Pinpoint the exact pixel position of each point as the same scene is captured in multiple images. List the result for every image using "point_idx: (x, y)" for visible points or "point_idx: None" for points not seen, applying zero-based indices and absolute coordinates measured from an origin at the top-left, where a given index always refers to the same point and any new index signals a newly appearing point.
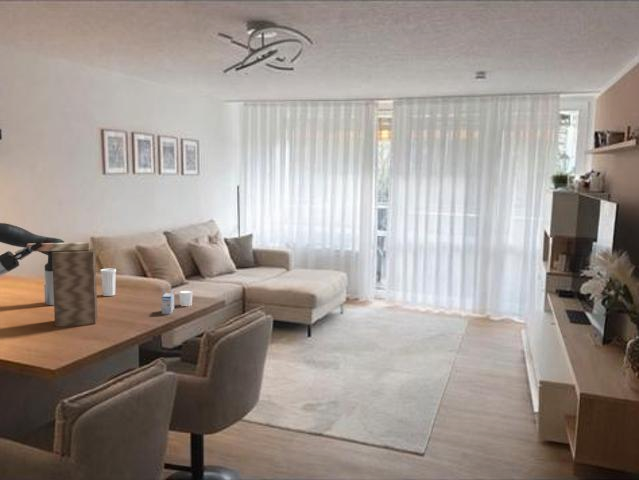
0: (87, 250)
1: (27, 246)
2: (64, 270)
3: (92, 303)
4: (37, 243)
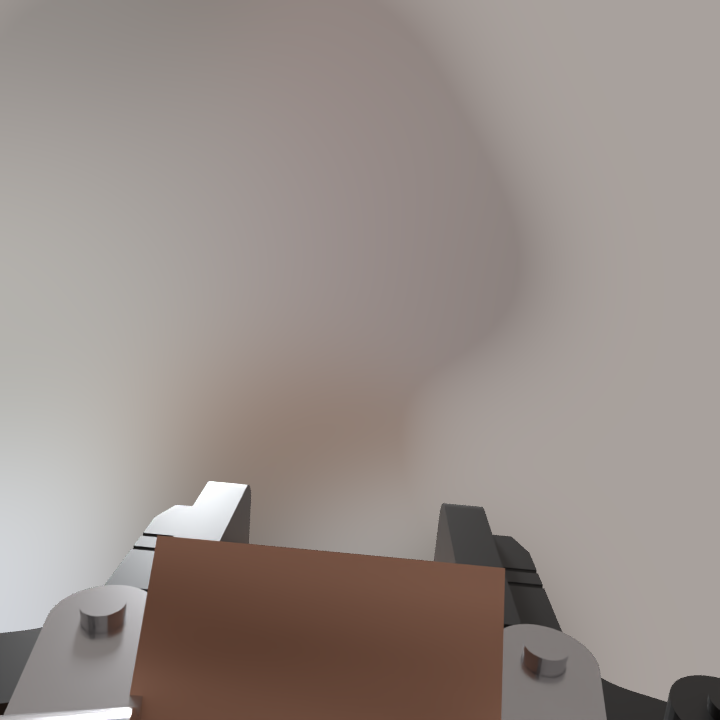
0: None
1: (499, 655)
2: None
3: None
4: (484, 541)
